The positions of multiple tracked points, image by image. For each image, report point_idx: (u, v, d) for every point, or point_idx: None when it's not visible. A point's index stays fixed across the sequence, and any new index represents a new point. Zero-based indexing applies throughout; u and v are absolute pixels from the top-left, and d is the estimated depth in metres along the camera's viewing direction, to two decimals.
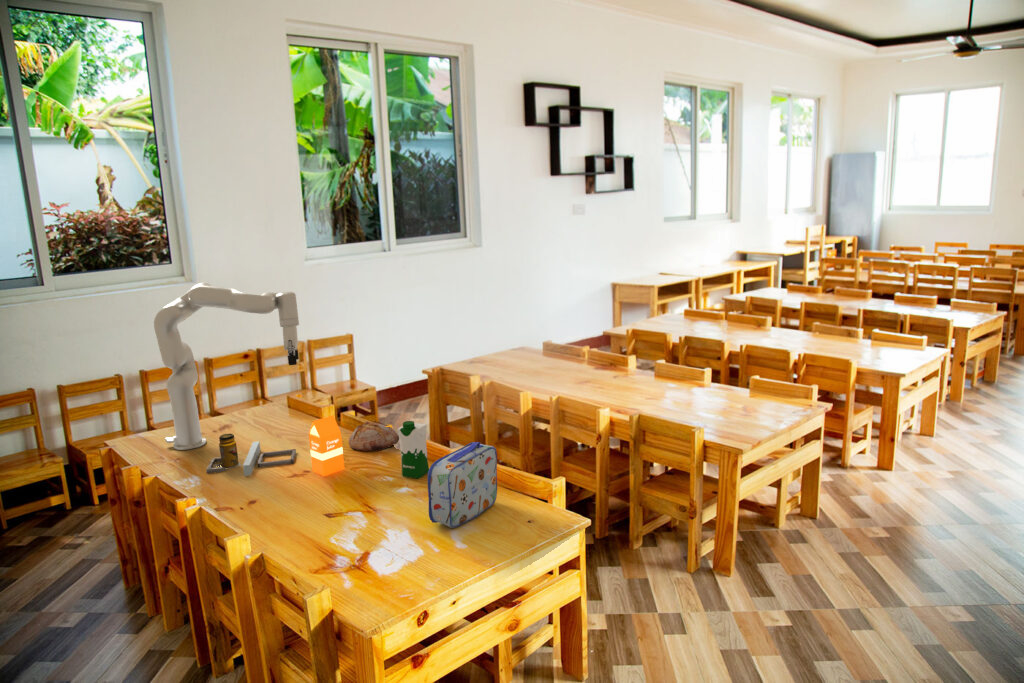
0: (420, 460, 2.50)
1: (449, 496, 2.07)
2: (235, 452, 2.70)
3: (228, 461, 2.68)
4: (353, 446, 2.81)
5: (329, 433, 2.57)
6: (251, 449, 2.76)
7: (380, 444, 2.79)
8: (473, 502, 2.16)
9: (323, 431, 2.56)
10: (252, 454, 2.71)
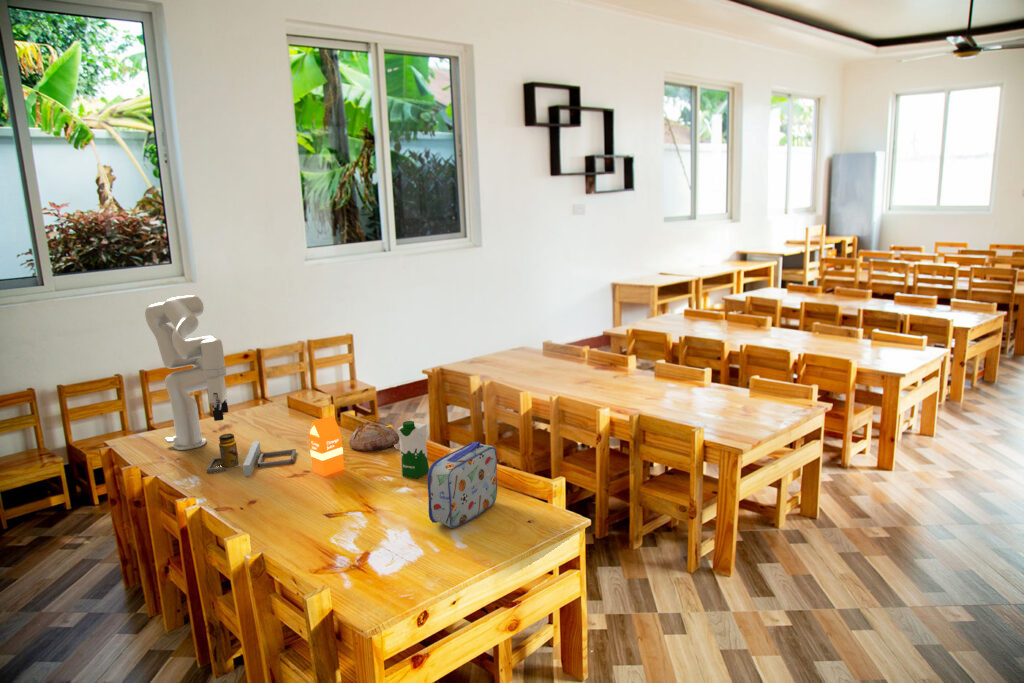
0: (420, 460, 2.50)
1: (449, 496, 2.07)
2: (235, 452, 2.70)
3: (228, 461, 2.68)
4: (354, 446, 2.81)
5: (329, 433, 2.57)
6: (251, 449, 2.76)
7: (381, 444, 2.79)
8: (473, 502, 2.16)
9: (323, 431, 2.56)
10: (252, 454, 2.71)
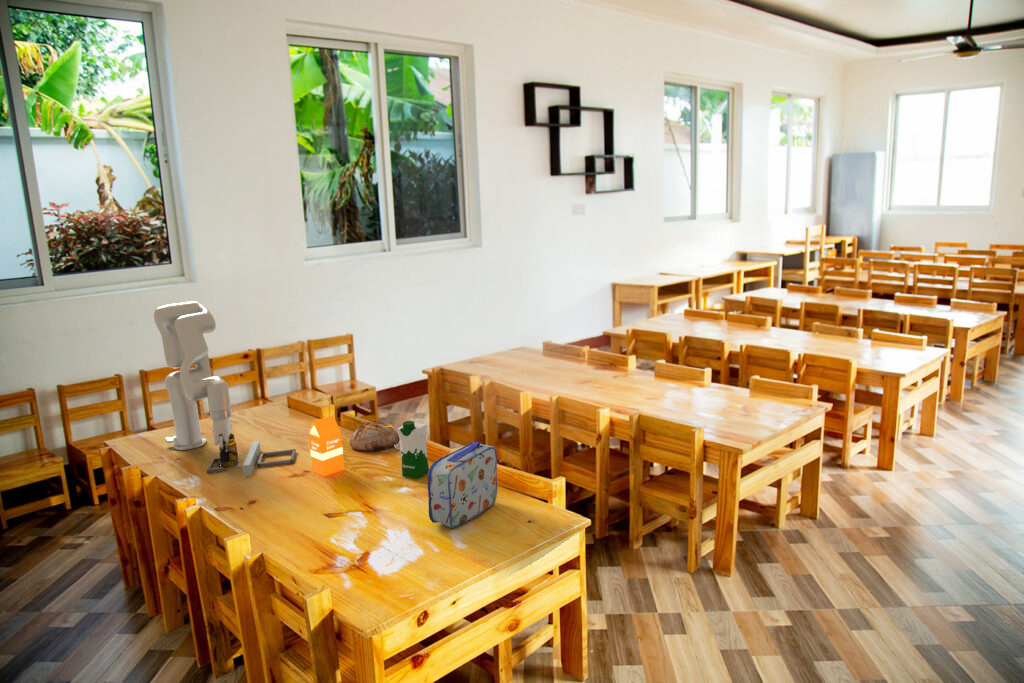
0: (420, 460, 2.50)
1: (449, 496, 2.07)
2: (235, 452, 2.70)
3: None
4: (354, 446, 2.81)
5: (329, 433, 2.57)
6: (251, 449, 2.76)
7: (382, 444, 2.79)
8: (473, 502, 2.16)
9: (323, 431, 2.56)
10: (252, 454, 2.71)
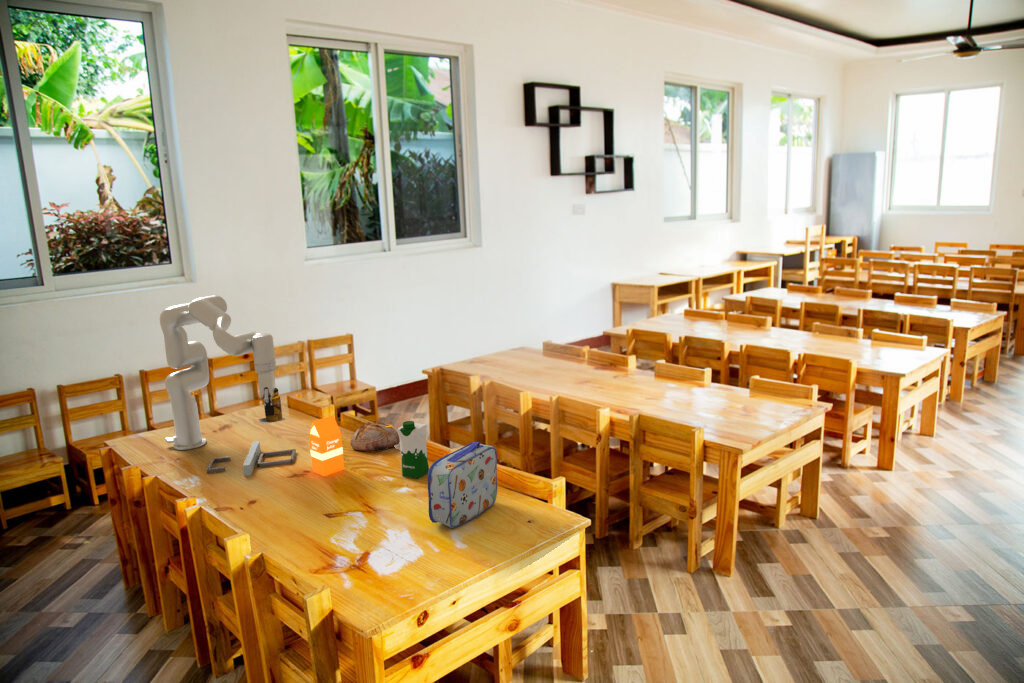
0: (420, 460, 2.50)
1: (449, 496, 2.07)
2: (279, 406, 2.70)
3: None
4: (355, 447, 2.80)
5: (329, 433, 2.57)
6: (251, 449, 2.76)
7: (383, 445, 2.79)
8: (473, 502, 2.16)
9: (323, 431, 2.56)
10: (252, 454, 2.71)
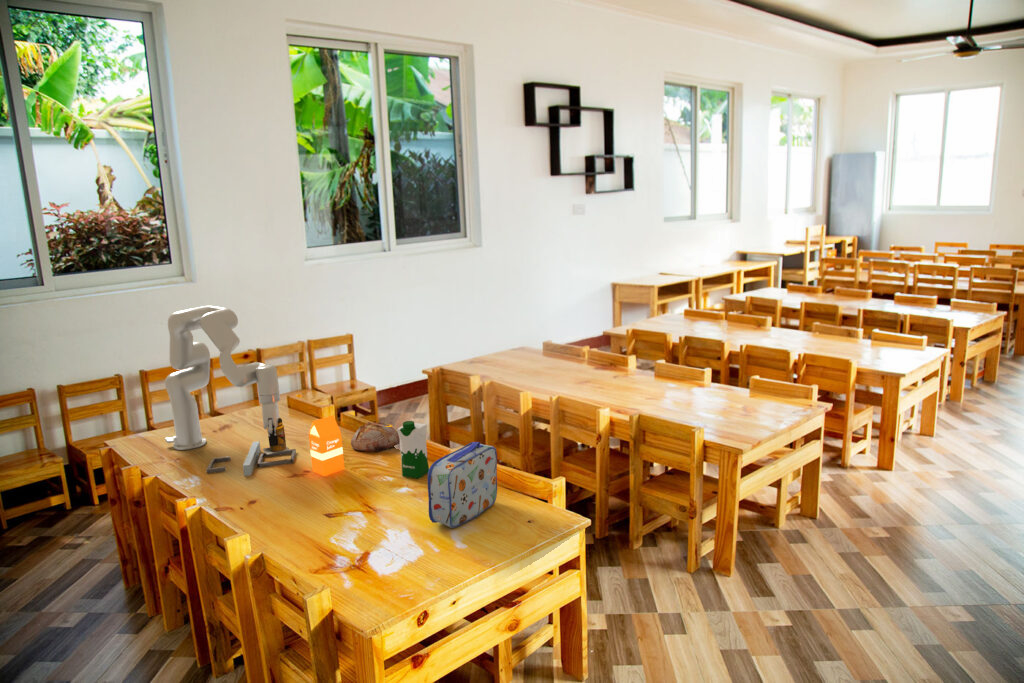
0: (420, 460, 2.50)
1: (449, 496, 2.07)
2: (283, 436, 2.72)
3: None
4: (356, 447, 2.80)
5: (329, 433, 2.57)
6: (251, 449, 2.76)
7: (383, 445, 2.79)
8: (473, 502, 2.16)
9: (323, 431, 2.56)
10: (252, 454, 2.71)
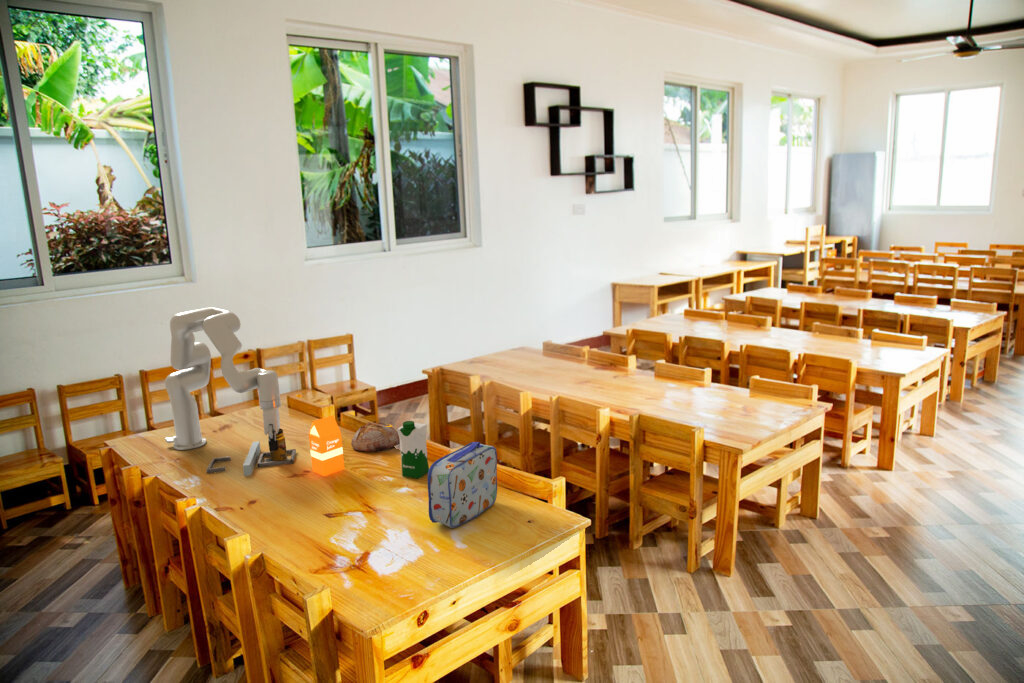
0: (420, 460, 2.50)
1: (449, 496, 2.07)
2: (284, 447, 2.73)
3: (278, 455, 2.72)
4: (356, 447, 2.80)
5: (329, 433, 2.57)
6: (251, 449, 2.76)
7: (384, 445, 2.78)
8: (473, 502, 2.16)
9: (323, 431, 2.56)
10: (252, 454, 2.71)
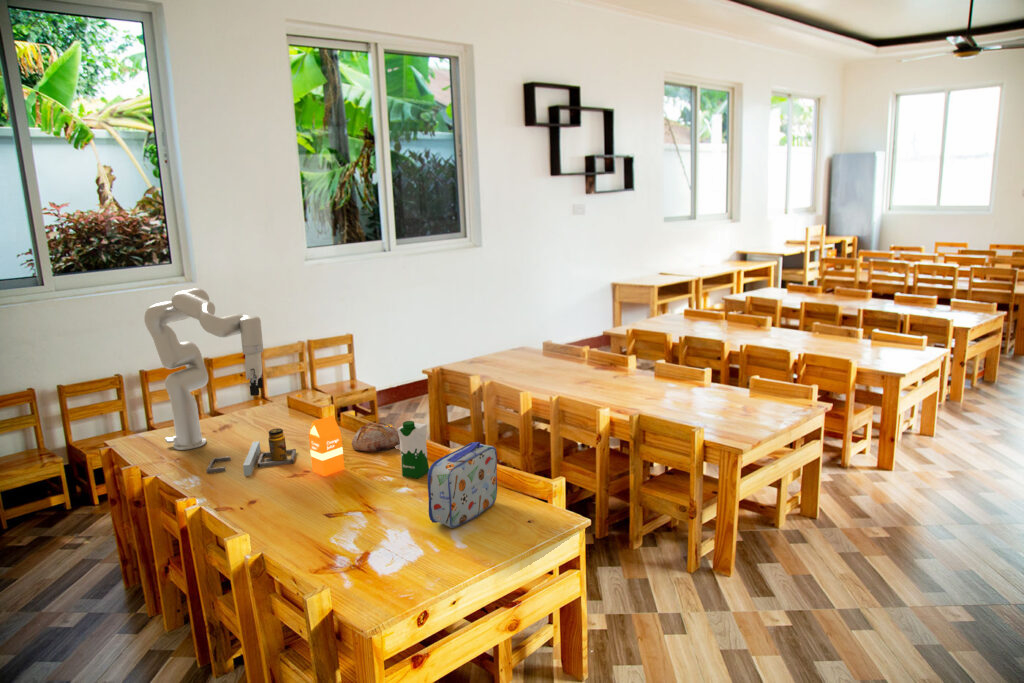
0: (420, 460, 2.50)
1: (449, 496, 2.07)
2: (284, 447, 2.73)
3: (278, 455, 2.72)
4: (357, 447, 2.79)
5: (329, 433, 2.57)
6: (251, 449, 2.76)
7: (385, 445, 2.78)
8: (473, 502, 2.16)
9: (323, 431, 2.56)
10: (252, 454, 2.71)
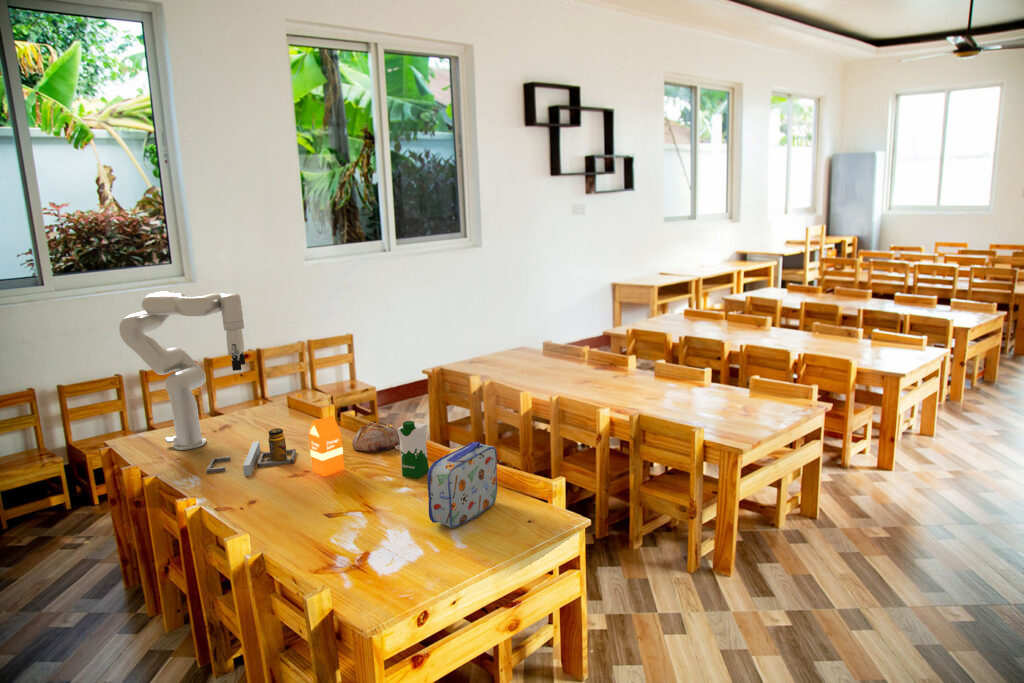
0: (420, 460, 2.50)
1: (449, 496, 2.07)
2: (284, 447, 2.73)
3: (278, 455, 2.72)
4: (357, 447, 2.79)
5: (329, 433, 2.57)
6: (251, 449, 2.76)
7: (385, 445, 2.78)
8: (473, 502, 2.16)
9: (323, 431, 2.56)
10: (252, 454, 2.71)
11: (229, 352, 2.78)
